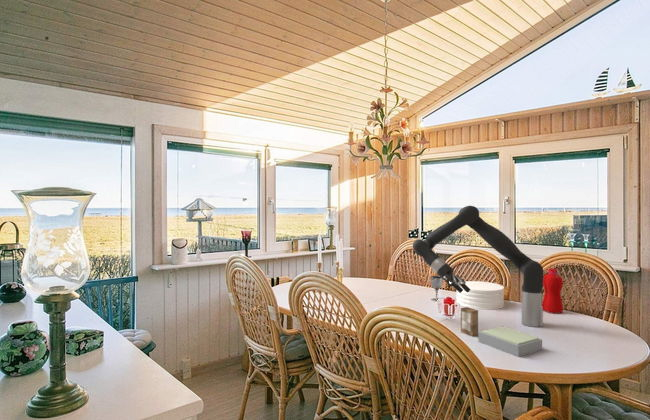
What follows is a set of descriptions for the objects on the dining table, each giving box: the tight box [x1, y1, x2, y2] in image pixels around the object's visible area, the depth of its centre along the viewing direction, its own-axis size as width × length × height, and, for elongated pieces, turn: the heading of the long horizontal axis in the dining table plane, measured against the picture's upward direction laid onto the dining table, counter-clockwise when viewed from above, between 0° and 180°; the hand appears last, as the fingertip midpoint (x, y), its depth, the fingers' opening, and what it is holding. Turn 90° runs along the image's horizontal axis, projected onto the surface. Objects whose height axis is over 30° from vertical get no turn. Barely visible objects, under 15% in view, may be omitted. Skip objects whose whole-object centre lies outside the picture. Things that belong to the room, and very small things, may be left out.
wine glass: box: [429, 275, 444, 302], centre depth 255 cm, size 8×8×15 cm
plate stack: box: [455, 280, 505, 310], centre depth 246 cm, size 28×28×12 cm
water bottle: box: [542, 267, 564, 314], centre depth 226 cm, size 9×11×25 cm
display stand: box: [478, 326, 543, 357], centre depth 173 cm, size 20×16×5 cm
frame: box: [460, 306, 479, 337], centre depth 189 cm, size 7×4×12 cm, turn 28°
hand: (465, 291), depth 191 cm, fingers open, 8 cm apart
